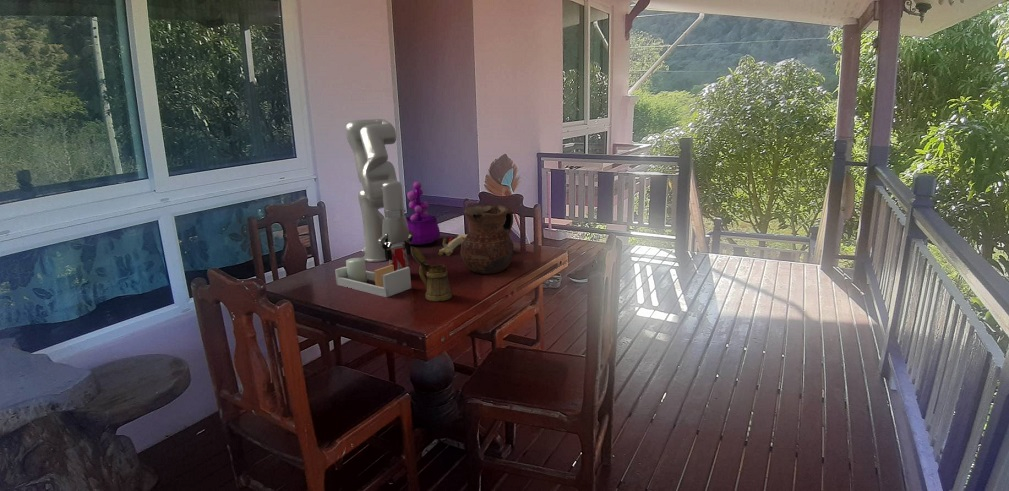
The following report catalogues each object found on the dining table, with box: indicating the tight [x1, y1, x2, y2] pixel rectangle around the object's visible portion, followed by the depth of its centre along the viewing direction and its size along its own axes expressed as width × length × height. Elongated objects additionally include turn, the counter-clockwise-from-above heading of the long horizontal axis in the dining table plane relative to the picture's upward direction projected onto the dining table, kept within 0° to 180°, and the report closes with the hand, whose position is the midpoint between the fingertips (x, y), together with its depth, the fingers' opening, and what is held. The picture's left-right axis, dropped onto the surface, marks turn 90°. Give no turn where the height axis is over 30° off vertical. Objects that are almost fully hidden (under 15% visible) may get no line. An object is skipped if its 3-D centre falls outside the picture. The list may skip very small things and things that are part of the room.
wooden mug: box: [410, 246, 453, 302], centre depth 203 cm, size 9×14×18 cm, turn 74°
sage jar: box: [345, 257, 368, 284], centre depth 224 cm, size 7×7×9 cm
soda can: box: [388, 243, 409, 271], centre depth 231 cm, size 7×7×12 cm
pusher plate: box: [373, 265, 394, 287], centre depth 214 cm, size 1×8×8 cm, turn 143°
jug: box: [460, 204, 515, 275], centre depth 233 cm, size 22×21×25 cm
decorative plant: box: [405, 181, 441, 246], centre depth 280 cm, size 19×18×30 cm
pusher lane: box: [334, 266, 412, 298], centre depth 218 cm, size 28×12×8 cm, turn 53°
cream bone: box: [437, 233, 468, 257], centre depth 270 cm, size 10×9×25 cm
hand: (398, 256), depth 230 cm, fingers open, 9 cm apart
